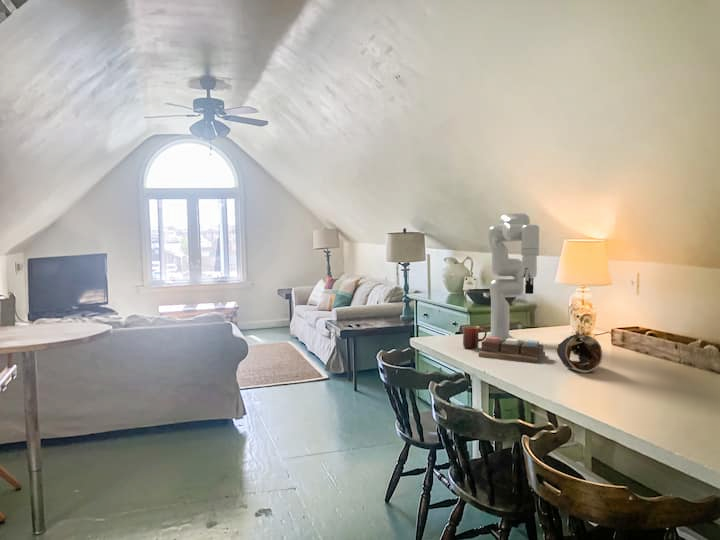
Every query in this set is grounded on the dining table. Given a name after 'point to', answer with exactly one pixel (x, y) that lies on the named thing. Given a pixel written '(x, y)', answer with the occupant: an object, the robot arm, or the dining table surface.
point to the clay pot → (580, 352)
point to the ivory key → (512, 341)
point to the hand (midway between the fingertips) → (529, 293)
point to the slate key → (532, 343)
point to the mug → (472, 336)
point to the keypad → (512, 351)
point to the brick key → (493, 339)
